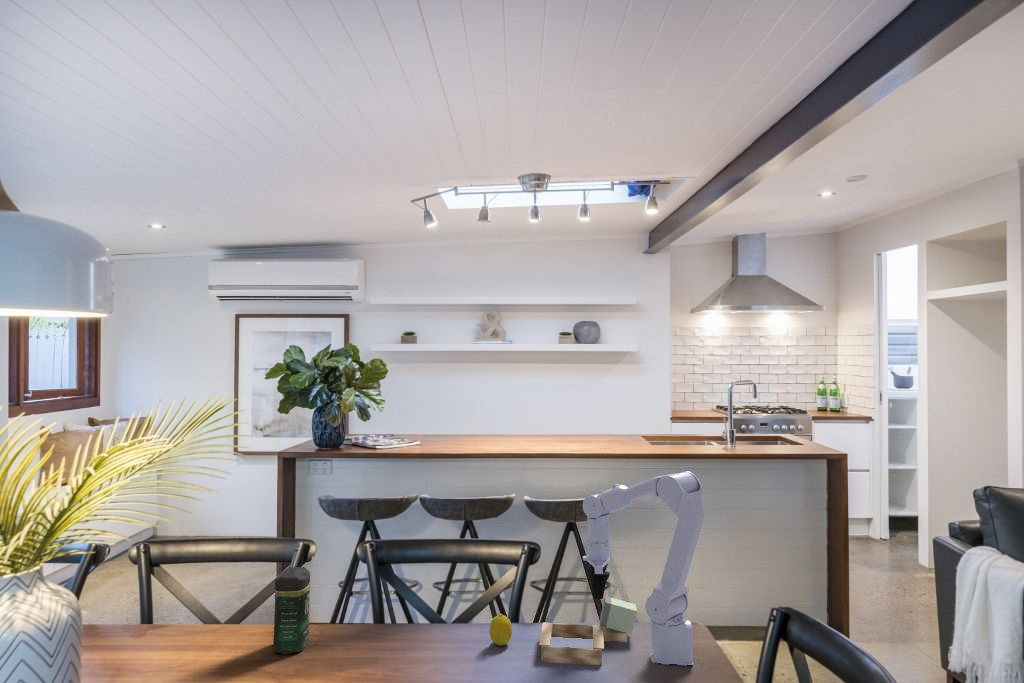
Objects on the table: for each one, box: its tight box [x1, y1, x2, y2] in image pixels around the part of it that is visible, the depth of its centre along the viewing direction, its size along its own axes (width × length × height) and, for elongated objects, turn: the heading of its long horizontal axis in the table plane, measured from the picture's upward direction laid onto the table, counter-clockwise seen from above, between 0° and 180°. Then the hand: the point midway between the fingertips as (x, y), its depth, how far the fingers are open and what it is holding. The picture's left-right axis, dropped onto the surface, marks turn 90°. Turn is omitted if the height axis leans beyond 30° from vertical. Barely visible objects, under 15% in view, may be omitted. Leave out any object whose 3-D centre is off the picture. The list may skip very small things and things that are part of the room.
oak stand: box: [603, 627, 628, 643], centre depth 166 cm, size 6×6×2 cm
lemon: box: [489, 613, 513, 647], centre depth 162 cm, size 6×6×8 cm
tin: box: [599, 595, 638, 635], centre depth 166 cm, size 8×4×6 cm, turn 83°
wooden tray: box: [538, 622, 605, 666], centre depth 158 cm, size 15×14×4 cm
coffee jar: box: [272, 566, 311, 655], centre depth 162 cm, size 10×8×19 cm
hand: (598, 593), depth 171 cm, fingers open, 7 cm apart
